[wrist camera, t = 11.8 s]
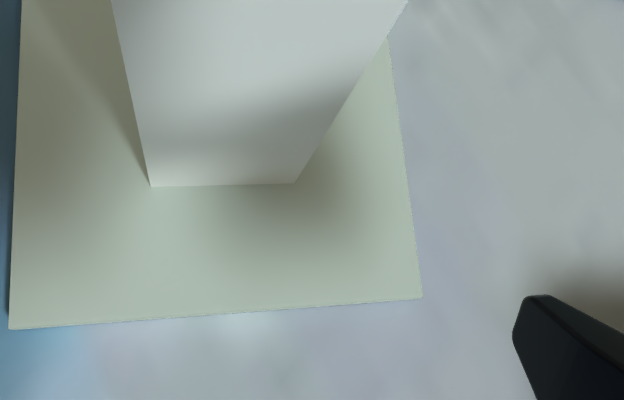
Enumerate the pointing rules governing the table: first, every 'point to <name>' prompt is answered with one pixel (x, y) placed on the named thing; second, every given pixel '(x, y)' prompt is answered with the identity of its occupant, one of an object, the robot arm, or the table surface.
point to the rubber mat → (188, 200)
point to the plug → (242, 81)
